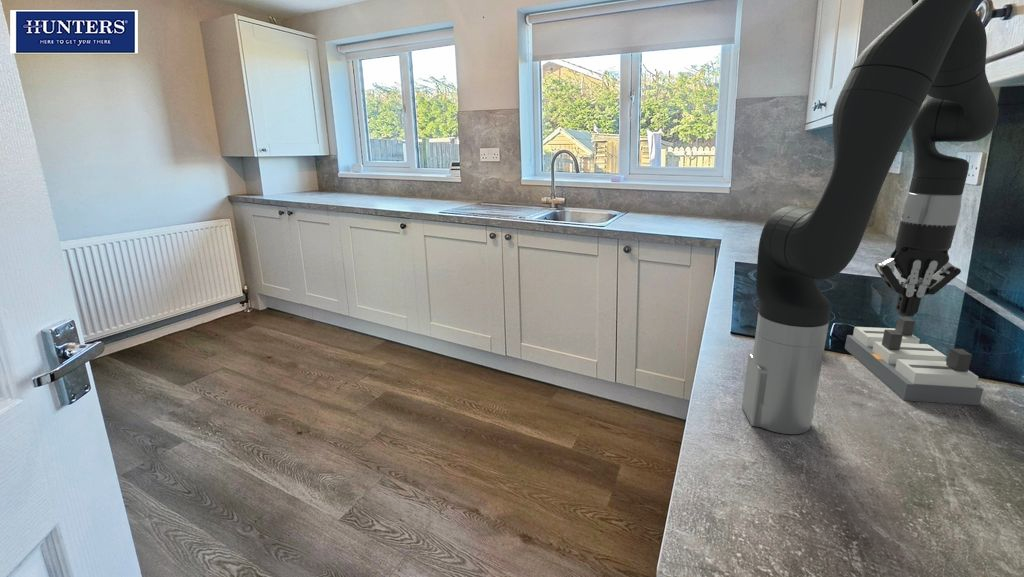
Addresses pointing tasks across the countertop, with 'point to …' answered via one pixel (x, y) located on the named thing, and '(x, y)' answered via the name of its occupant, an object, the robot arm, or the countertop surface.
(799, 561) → the countertop surface
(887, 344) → the block
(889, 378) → the box
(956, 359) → the block
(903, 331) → the block
